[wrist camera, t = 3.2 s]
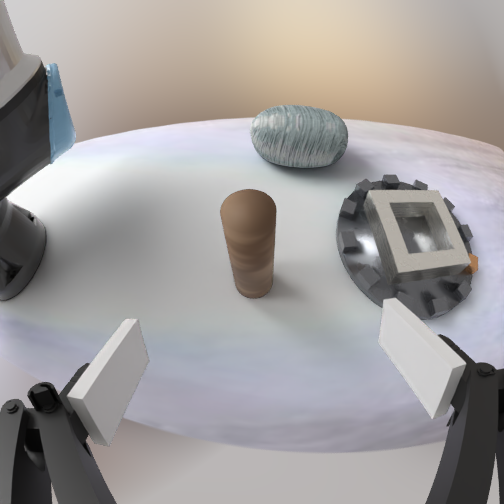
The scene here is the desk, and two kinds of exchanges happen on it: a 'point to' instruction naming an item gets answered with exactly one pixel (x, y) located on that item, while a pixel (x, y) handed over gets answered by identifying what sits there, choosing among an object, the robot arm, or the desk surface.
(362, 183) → the sprocket plate
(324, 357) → the desk surface
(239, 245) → the drive pin
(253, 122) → the grey green streaked ellipsoid
